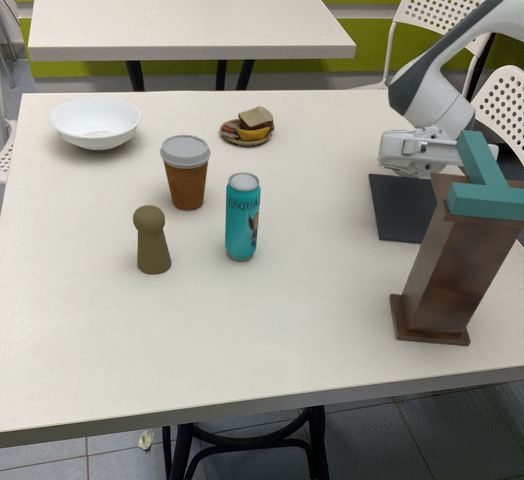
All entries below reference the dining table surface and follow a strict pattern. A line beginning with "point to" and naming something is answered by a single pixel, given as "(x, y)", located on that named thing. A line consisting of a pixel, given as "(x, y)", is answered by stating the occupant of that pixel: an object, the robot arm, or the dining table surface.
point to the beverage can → (242, 215)
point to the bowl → (95, 121)
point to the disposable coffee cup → (186, 169)
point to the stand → (451, 270)
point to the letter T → (483, 184)
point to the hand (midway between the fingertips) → (451, 149)
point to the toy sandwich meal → (249, 127)
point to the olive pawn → (151, 240)
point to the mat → (402, 207)
